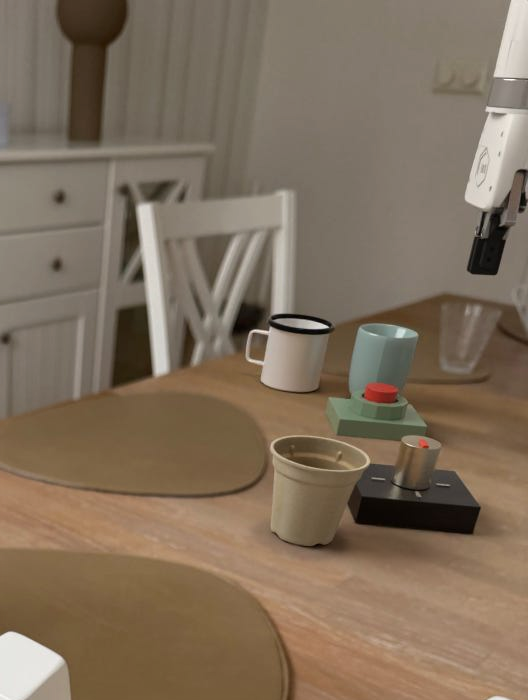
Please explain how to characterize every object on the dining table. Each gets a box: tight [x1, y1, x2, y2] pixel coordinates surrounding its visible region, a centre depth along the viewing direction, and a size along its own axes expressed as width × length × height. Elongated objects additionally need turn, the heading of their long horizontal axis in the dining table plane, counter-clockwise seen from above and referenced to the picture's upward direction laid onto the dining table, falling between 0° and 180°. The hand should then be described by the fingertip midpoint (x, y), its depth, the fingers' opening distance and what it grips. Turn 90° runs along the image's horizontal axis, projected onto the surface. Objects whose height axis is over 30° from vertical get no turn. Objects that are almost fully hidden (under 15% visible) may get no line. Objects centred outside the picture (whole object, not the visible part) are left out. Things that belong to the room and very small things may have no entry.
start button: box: [363, 383, 398, 404], centre depth 126 cm, size 4×4×2 cm
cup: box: [348, 323, 420, 396], centre depth 135 cm, size 8×8×10 cm
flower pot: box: [269, 434, 371, 547], centre depth 96 cm, size 9×9×9 cm
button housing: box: [324, 390, 428, 442], centre depth 127 cm, size 11×9×4 cm
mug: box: [245, 312, 336, 394], centre depth 140 cm, size 12×10×9 cm
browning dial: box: [391, 435, 442, 490], centre depth 102 cm, size 4×4×5 cm
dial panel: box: [347, 462, 482, 535], centre depth 104 cm, size 12×10×3 cm
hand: (481, 273), depth 117 cm, fingers closed
